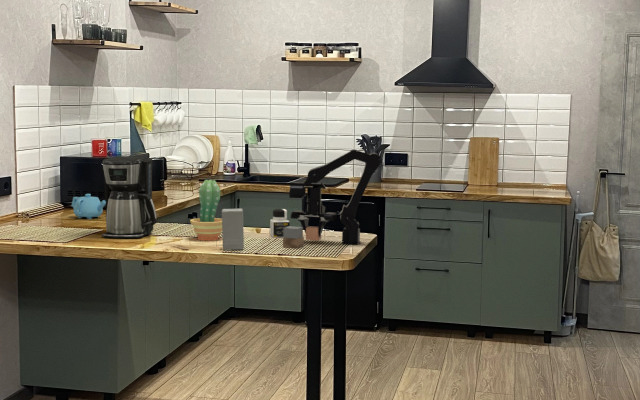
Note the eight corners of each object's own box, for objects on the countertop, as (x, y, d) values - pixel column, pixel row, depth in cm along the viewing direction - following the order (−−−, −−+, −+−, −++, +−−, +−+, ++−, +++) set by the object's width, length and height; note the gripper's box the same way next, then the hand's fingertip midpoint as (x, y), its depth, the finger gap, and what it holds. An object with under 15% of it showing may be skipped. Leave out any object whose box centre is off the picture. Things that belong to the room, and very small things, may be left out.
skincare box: (244, 247, 346) (244, 208, 344) (243, 250, 339) (243, 210, 337) (222, 247, 346) (222, 207, 344) (221, 250, 339) (221, 209, 337)
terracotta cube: (321, 238, 363) (321, 226, 362) (317, 240, 358) (317, 228, 357) (309, 238, 364) (309, 226, 364) (305, 239, 359) (305, 227, 359)
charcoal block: (302, 236, 352) (302, 227, 351) (297, 238, 346) (297, 228, 346) (288, 235, 354) (289, 226, 353) (283, 237, 348) (283, 228, 348)
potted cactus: (234, 238, 369) (234, 179, 366) (209, 242, 356) (209, 182, 353) (206, 235, 377) (206, 177, 375) (182, 239, 365) (182, 179, 362)
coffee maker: (102, 240, 358) (101, 158, 355) (98, 229, 389) (97, 154, 386) (157, 238, 365) (157, 158, 362) (149, 228, 396) (149, 154, 392)
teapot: (61, 218, 423) (61, 194, 421) (83, 214, 438) (82, 191, 437) (96, 221, 415) (95, 196, 414) (116, 217, 431) (116, 193, 429)
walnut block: (303, 246, 352) (303, 236, 352) (298, 248, 346) (298, 239, 346) (288, 245, 354) (288, 235, 354) (282, 247, 348) (283, 238, 348)
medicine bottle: (273, 238, 372) (273, 210, 371) (269, 235, 379) (270, 208, 378) (289, 237, 374) (289, 209, 373) (285, 235, 381) (286, 208, 380)
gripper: (341, 198, 364) (340, 235, 365) (299, 196, 370) (299, 232, 371) (333, 200, 353) (332, 238, 355) (290, 198, 359) (289, 235, 361)
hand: (313, 236), depth 361 cm, fingers closed on terracotta cube, 5 cm apart
